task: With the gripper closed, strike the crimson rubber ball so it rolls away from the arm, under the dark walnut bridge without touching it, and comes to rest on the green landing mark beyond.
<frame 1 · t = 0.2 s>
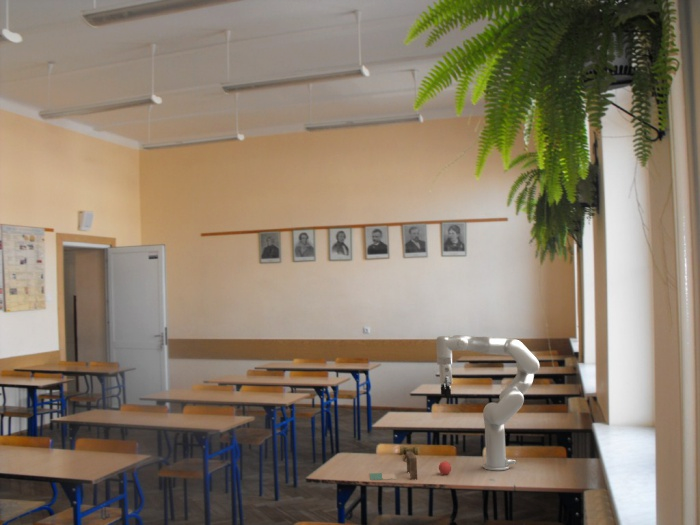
hand: (445, 395, 325), 36 cm above the table, tool pointing down, fingers open, 9 cm apart
landing mark: (382, 476, 312), on the table
gavel: (408, 458, 352), on the table
ball: (445, 467, 314), on the table
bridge: (412, 475, 313), on the table
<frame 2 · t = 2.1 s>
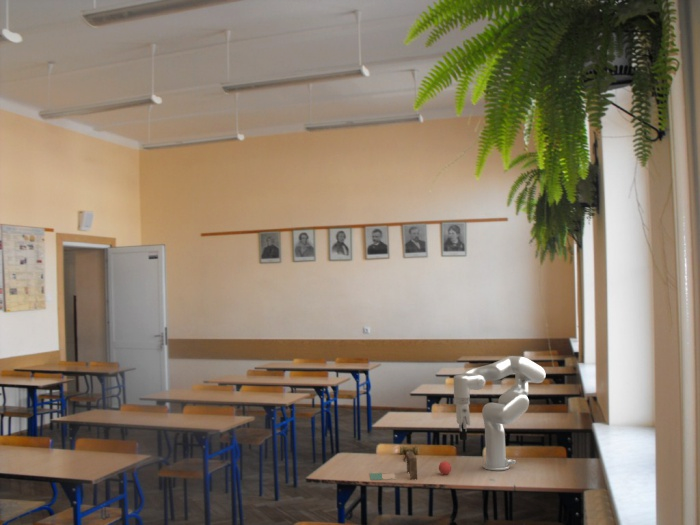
hand: (463, 439, 315), 16 cm above the table, tool pointing down, fingers closed
nothing on the table moved.
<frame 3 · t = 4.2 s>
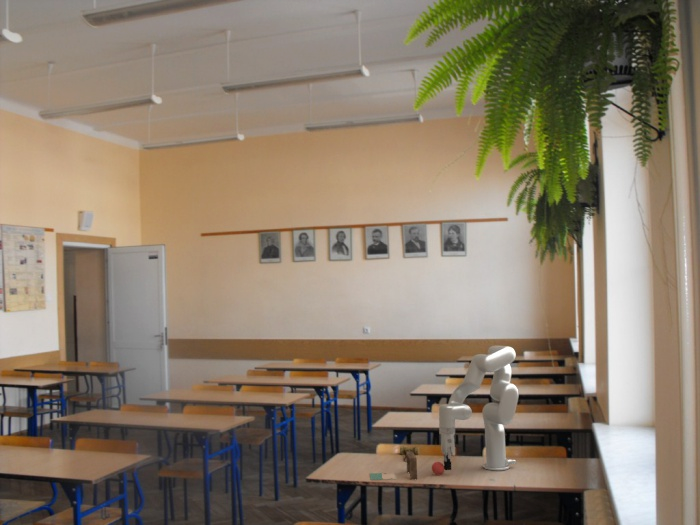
hand: (447, 469, 313), 2 cm above the table, tool pointing down, fingers closed
ball: (437, 468, 313), on the table
everything else where it was.
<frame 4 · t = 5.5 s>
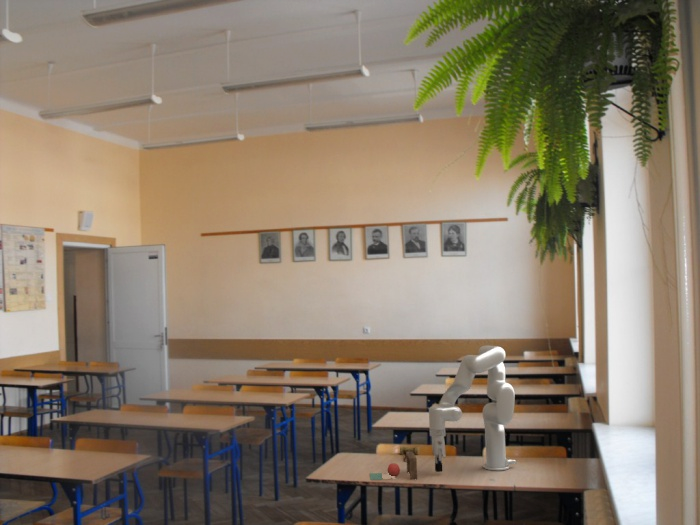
hand: (438, 471, 313), 2 cm above the table, tool pointing down, fingers closed
ball: (393, 469, 313), on the table
everything else where it was.
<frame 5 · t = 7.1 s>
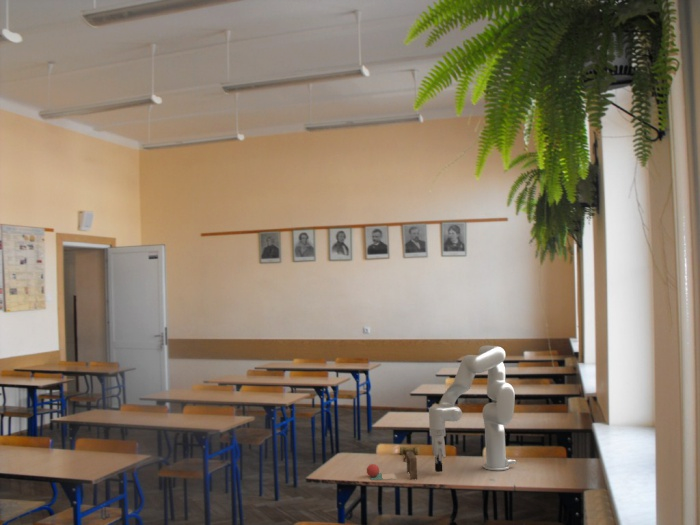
hand: (438, 471, 313), 2 cm above the table, tool pointing down, fingers closed
ball: (373, 470, 312), on the table
everything else where it was.
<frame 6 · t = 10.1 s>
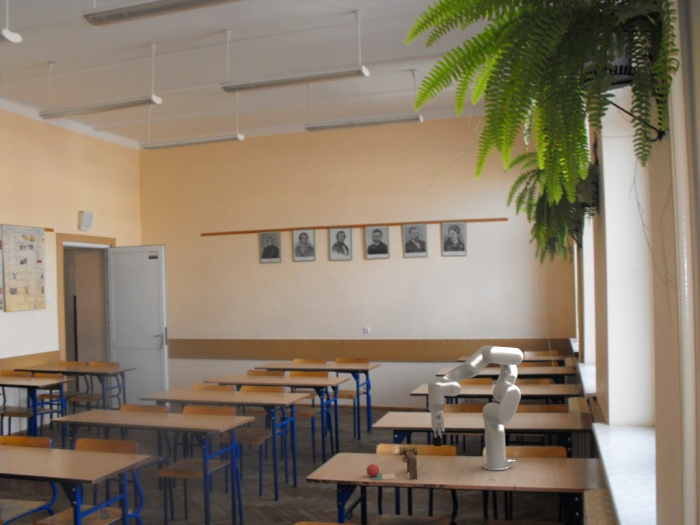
hand: (438, 445, 314), 14 cm above the table, tool pointing down, fingers closed
at the end: ball 4.6 cm from the landing mark (horizontally); ball never touched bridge; ball at rest at the end (0.0 cm/s) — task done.
